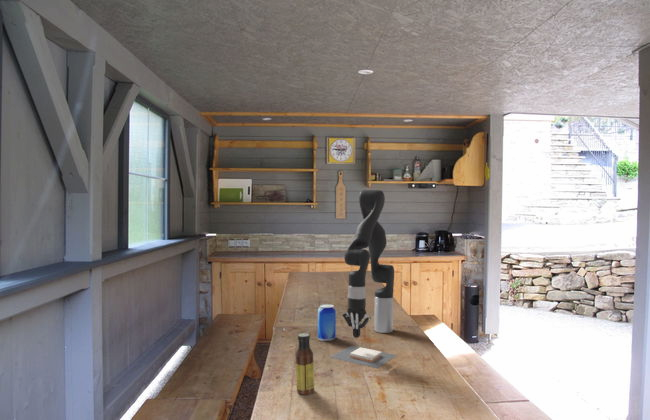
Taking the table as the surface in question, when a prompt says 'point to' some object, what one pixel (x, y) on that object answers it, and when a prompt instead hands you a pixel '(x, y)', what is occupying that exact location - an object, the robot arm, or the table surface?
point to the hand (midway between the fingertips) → (356, 337)
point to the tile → (365, 354)
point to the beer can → (326, 322)
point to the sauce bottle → (304, 366)
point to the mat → (377, 363)
